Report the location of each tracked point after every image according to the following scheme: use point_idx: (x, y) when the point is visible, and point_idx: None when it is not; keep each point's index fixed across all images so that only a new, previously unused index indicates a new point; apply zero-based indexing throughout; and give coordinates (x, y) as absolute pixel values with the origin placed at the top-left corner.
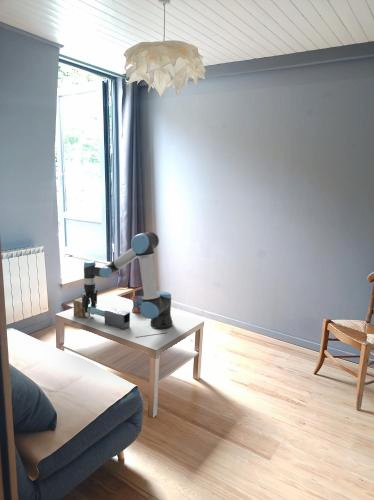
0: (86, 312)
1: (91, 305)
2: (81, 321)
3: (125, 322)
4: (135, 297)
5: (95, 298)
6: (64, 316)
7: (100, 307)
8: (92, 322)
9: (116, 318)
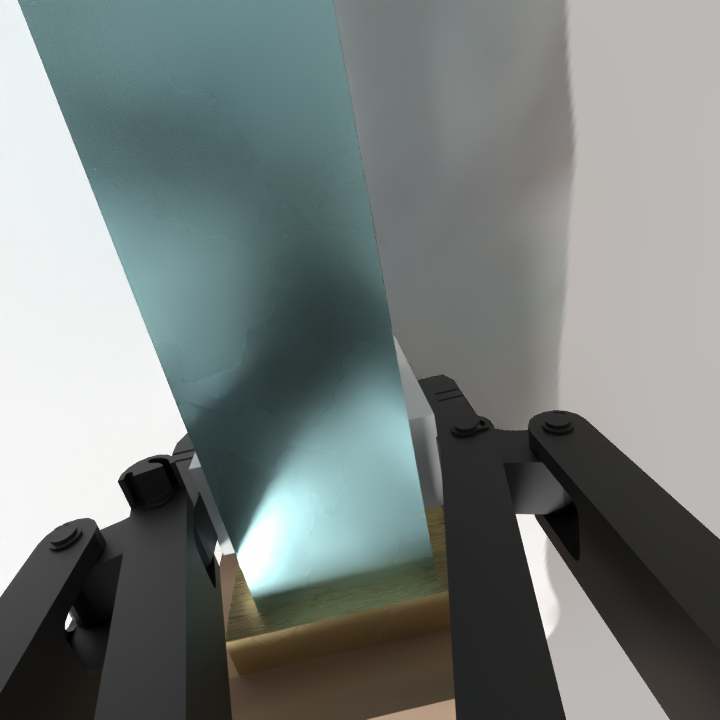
0: (442, 376)
1: (307, 462)
2: (520, 303)
3: None
4: None
5: (3, 718)
6: (546, 585)
7: (138, 64)
8: (419, 125)
9: None
